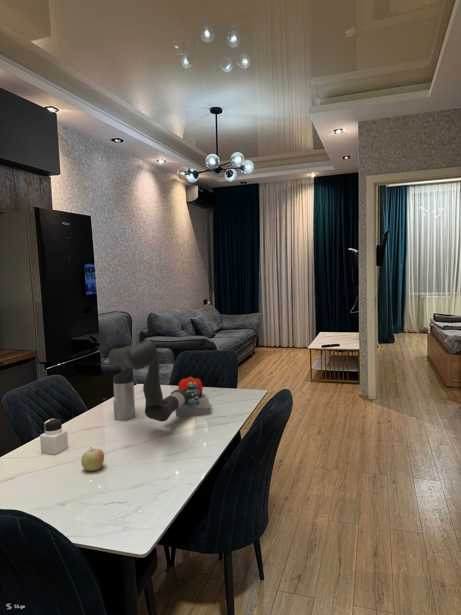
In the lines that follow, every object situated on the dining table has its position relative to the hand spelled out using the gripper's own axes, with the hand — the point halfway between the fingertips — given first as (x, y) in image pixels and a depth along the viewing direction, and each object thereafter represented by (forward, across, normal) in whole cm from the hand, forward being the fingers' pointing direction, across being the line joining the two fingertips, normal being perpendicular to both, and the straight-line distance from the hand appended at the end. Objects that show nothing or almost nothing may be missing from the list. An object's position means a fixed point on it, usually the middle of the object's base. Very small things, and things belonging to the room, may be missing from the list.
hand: (193, 390), depth 207 cm
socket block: (-1, 0, +10) cm, 10 cm away
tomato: (+18, +11, +10) cm, 23 cm away
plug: (-2, 0, +9) cm, 9 cm away
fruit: (-68, +4, +10) cm, 69 cm away
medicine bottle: (-60, +30, +10) cm, 68 cm away
